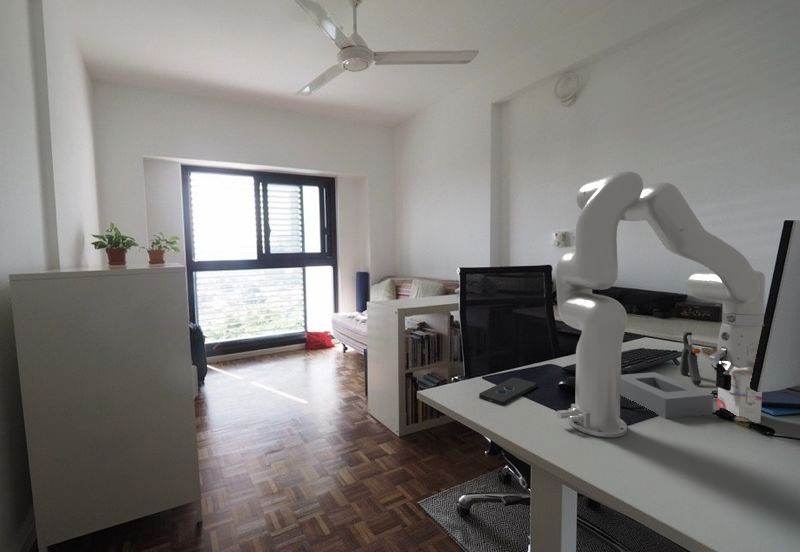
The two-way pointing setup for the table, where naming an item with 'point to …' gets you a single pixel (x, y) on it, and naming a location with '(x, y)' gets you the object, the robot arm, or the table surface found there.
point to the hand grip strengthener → (690, 359)
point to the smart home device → (507, 391)
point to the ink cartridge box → (741, 395)
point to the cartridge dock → (666, 395)
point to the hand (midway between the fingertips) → (739, 386)
